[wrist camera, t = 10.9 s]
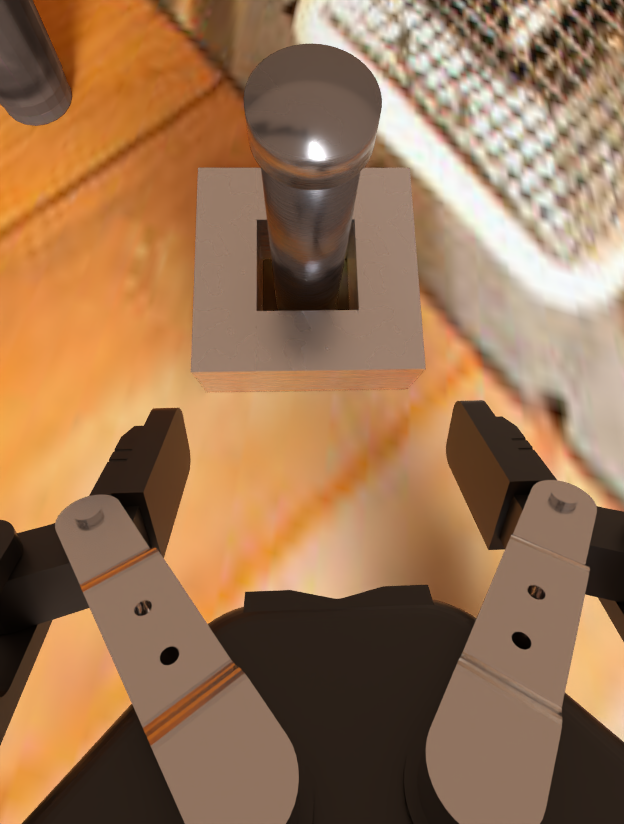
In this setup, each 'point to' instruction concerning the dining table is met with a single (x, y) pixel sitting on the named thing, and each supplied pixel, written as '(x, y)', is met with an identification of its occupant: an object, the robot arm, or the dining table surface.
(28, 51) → the beverage cup
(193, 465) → the dining table surface
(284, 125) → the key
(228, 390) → the block
